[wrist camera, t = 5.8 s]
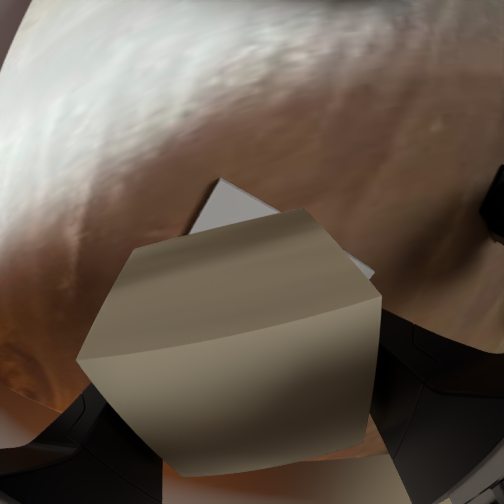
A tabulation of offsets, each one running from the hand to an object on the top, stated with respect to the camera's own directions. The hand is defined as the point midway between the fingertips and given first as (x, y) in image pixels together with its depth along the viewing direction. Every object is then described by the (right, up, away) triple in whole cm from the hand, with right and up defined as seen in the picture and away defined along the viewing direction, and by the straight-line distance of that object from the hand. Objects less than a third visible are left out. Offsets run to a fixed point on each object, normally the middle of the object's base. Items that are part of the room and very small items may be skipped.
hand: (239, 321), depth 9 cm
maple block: (0, 0, +1) cm, 1 cm away
